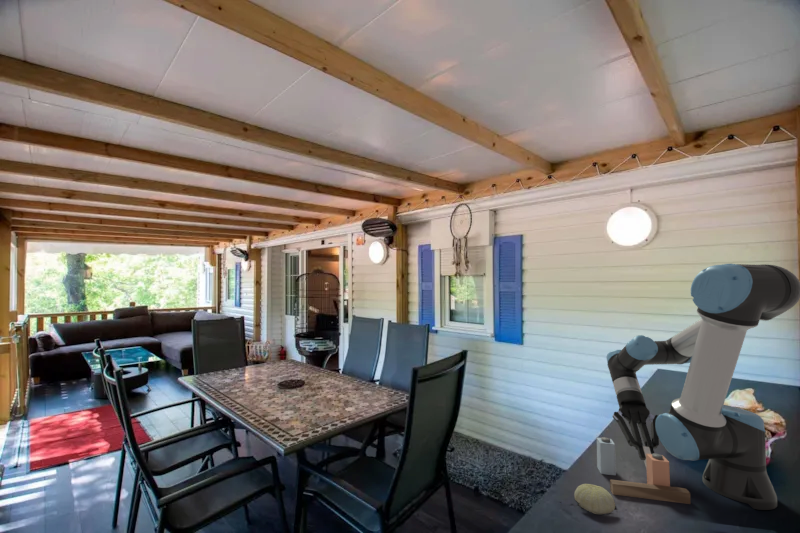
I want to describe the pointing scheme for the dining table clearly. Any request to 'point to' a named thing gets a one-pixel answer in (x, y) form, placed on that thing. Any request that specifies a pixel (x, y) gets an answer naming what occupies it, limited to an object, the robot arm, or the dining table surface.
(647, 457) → the terracotta plug
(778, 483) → the dining table surface
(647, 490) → the maple board
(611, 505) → the sea urchin shell
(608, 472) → the grey socket block
